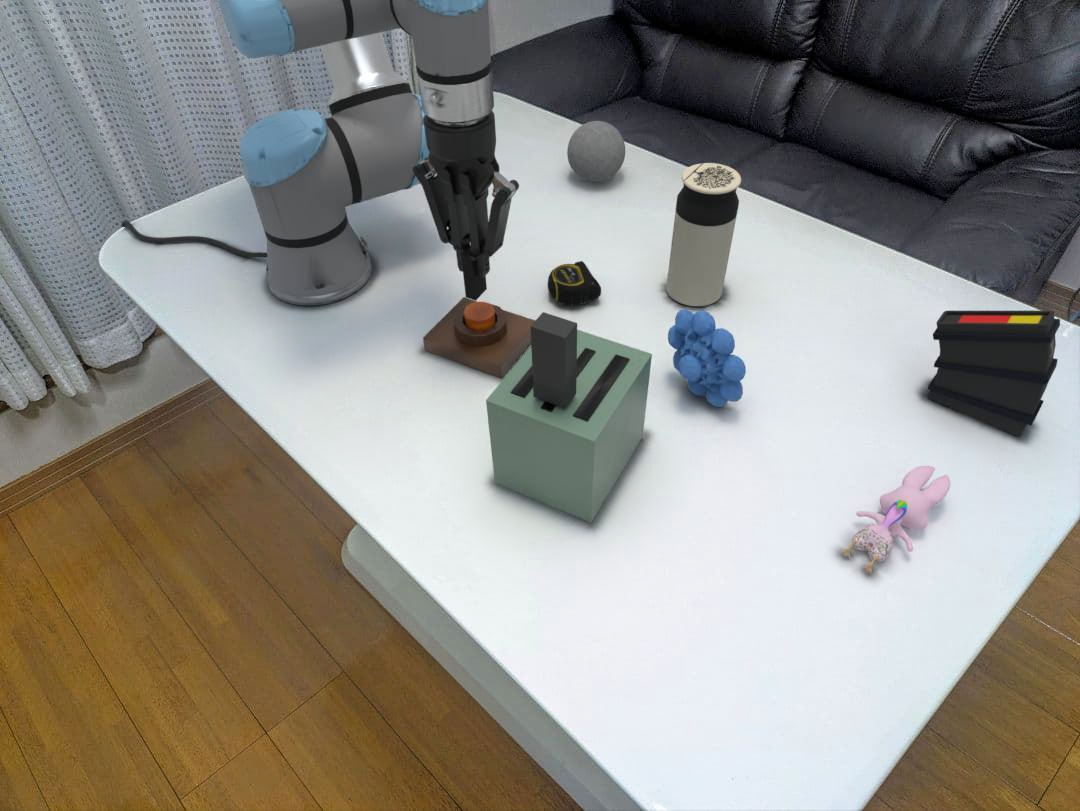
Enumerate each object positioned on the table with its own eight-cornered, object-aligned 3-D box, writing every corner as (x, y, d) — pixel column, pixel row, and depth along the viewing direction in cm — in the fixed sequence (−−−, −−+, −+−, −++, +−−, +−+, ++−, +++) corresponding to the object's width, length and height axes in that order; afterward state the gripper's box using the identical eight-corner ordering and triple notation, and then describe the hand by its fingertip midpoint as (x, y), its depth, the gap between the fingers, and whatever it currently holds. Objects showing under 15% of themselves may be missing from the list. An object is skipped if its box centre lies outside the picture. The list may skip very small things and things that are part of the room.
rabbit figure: (880, 591, 73) (963, 497, 78) (893, 564, 68) (981, 466, 73) (825, 551, 76) (909, 463, 81) (835, 523, 72) (923, 431, 77)
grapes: (641, 384, 93) (648, 309, 84) (678, 361, 96) (689, 286, 87) (711, 436, 86) (727, 360, 78) (748, 409, 89) (768, 333, 81)
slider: (533, 397, 72) (530, 326, 66) (544, 382, 74) (542, 311, 68) (565, 409, 71) (565, 338, 65) (576, 393, 73) (577, 322, 66)
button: (459, 325, 96) (457, 314, 95) (475, 308, 99) (474, 298, 97) (485, 334, 95) (484, 323, 94) (501, 317, 97) (500, 306, 96)
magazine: (1056, 443, 82) (1049, 326, 75) (930, 429, 92) (914, 325, 85) (1065, 424, 84) (1059, 308, 77) (940, 412, 94) (926, 309, 87)
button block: (424, 350, 98) (420, 327, 95) (465, 309, 104) (462, 286, 102) (501, 378, 94) (499, 355, 91) (538, 333, 100) (538, 310, 97)
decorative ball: (627, 167, 132) (631, 113, 125) (619, 195, 126) (622, 139, 119) (573, 163, 134) (573, 108, 127) (562, 190, 127) (561, 134, 120)
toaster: (494, 482, 82) (485, 398, 73) (553, 403, 91) (551, 319, 81) (591, 523, 78) (594, 440, 69) (642, 436, 86) (652, 352, 77)
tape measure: (602, 304, 104) (603, 283, 102) (556, 314, 103) (556, 293, 100) (585, 278, 109) (586, 256, 106) (541, 287, 108) (541, 265, 105)
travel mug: (732, 289, 106) (755, 174, 93) (701, 315, 102) (720, 199, 89) (686, 268, 110) (703, 155, 97) (655, 292, 106) (667, 178, 93)
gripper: (386, 113, 77) (417, 294, 94) (493, 139, 72) (505, 325, 89) (427, 87, 81) (450, 264, 98) (530, 110, 77) (535, 291, 94)
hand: (476, 293), depth 94 cm, fingers closed
